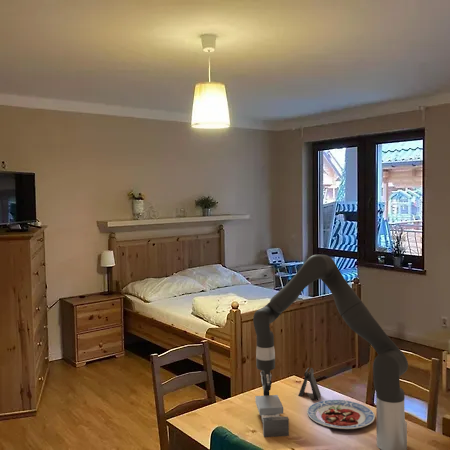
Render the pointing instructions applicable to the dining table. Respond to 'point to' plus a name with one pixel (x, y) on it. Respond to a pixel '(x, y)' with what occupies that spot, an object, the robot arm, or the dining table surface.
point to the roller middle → (270, 416)
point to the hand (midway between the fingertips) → (266, 398)
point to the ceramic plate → (341, 414)
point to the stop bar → (275, 426)
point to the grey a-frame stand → (314, 386)
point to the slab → (269, 404)
